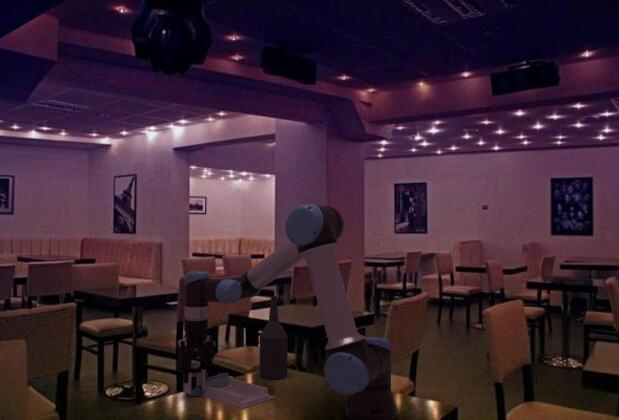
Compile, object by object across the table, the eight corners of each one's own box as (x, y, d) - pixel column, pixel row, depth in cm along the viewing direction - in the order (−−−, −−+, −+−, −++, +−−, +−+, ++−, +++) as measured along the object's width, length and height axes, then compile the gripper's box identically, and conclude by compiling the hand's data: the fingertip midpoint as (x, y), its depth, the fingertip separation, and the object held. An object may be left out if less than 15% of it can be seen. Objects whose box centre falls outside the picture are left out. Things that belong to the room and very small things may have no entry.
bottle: (288, 374, 214) (288, 294, 215) (286, 381, 205) (287, 297, 205) (260, 373, 214) (261, 294, 215) (258, 381, 205) (258, 297, 206)
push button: (207, 393, 187) (208, 362, 188) (202, 397, 182) (202, 366, 182) (188, 391, 188) (188, 361, 188) (182, 396, 183) (183, 365, 183)
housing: (275, 398, 184) (275, 387, 184) (242, 408, 173) (242, 397, 173) (230, 385, 198) (230, 376, 198) (197, 395, 187) (197, 384, 187)
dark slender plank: (228, 386, 195) (228, 373, 195) (203, 393, 187) (203, 379, 187) (225, 385, 196) (226, 372, 196) (200, 392, 188) (200, 379, 188)
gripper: (210, 315, 195) (208, 383, 194) (166, 320, 181) (164, 394, 180) (224, 317, 190) (223, 387, 189) (180, 323, 176) (179, 399, 175)
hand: (194, 390), depth 185 cm, fingers closed on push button, 5 cm apart
